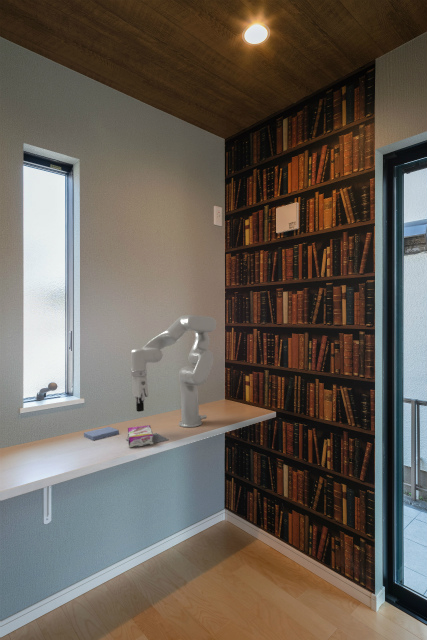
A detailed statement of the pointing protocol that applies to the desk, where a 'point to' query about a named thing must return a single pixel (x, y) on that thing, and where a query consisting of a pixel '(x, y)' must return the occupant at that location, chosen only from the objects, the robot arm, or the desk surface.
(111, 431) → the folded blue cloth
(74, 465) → the desk surface
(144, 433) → the candy bar box
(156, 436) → the mat
